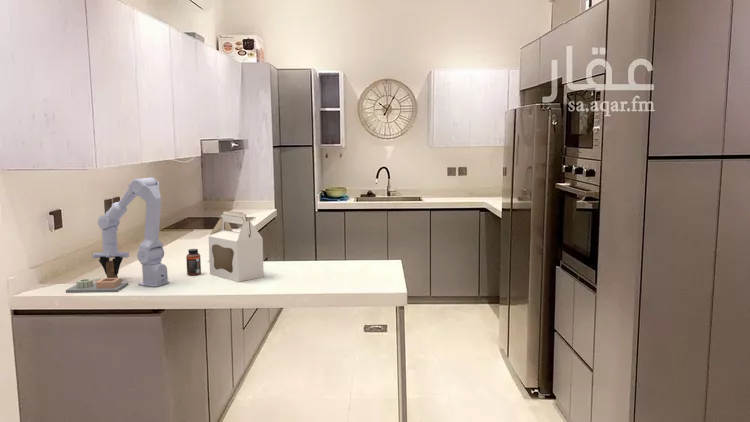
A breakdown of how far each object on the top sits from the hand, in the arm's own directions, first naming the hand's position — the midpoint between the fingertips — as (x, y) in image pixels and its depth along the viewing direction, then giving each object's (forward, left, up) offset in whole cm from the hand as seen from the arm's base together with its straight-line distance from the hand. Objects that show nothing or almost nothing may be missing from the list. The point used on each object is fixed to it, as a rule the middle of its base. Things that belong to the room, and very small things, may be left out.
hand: (112, 274), depth 243 cm
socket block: (-6, +13, -2) cm, 15 cm away
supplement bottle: (-26, -21, -3) cm, 34 cm away
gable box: (-45, -26, -3) cm, 52 cm away
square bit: (0, 0, -2) cm, 2 cm away
